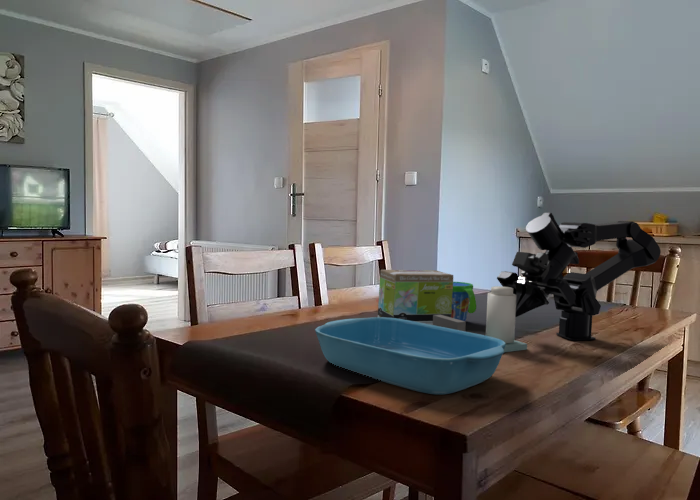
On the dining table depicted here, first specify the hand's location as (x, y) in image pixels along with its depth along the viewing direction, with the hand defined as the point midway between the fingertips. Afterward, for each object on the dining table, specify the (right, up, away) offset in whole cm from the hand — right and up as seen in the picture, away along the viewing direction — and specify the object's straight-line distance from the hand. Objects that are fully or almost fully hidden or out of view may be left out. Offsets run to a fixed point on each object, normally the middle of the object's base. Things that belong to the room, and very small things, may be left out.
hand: (513, 315), depth 123 cm
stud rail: (-8, -7, -4) cm, 11 cm away
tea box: (-21, -6, +11) cm, 24 cm away
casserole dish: (-26, -8, -21) cm, 34 cm away
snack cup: (-9, -5, +26) cm, 28 cm away
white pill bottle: (-3, -5, -1) cm, 6 cm away
